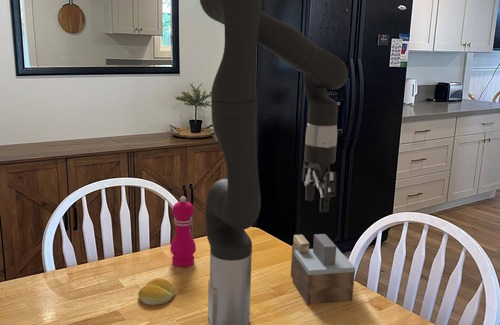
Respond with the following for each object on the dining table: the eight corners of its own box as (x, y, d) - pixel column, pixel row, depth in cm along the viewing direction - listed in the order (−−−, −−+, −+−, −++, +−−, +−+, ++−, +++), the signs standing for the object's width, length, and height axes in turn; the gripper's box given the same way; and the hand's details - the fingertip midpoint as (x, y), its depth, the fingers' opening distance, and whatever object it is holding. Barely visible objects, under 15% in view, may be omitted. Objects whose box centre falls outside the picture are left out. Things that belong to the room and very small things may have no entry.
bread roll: (132, 302, 121) (132, 287, 120) (153, 286, 129) (152, 272, 128) (161, 310, 118) (161, 294, 117) (180, 292, 126) (180, 278, 125)
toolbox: (306, 304, 121) (308, 270, 119) (288, 275, 136) (290, 244, 134) (352, 300, 124) (355, 267, 122) (329, 272, 139) (332, 242, 136)
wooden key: (300, 252, 128) (300, 243, 128) (293, 243, 134) (293, 235, 133) (308, 252, 129) (309, 243, 128) (301, 243, 134) (302, 234, 134)
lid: (308, 278, 120) (310, 251, 118) (293, 257, 131) (295, 232, 129) (354, 275, 122) (356, 248, 120) (336, 255, 134) (338, 230, 132)
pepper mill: (191, 269, 138) (191, 201, 133) (166, 266, 139) (166, 199, 134) (198, 258, 145) (199, 193, 140) (175, 255, 146) (175, 191, 141)
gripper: (295, 137, 124) (291, 198, 128) (319, 149, 111) (314, 216, 115) (322, 136, 127) (318, 196, 131) (349, 148, 114) (343, 214, 117)
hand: (316, 205), depth 123 cm, fingers open, 8 cm apart
